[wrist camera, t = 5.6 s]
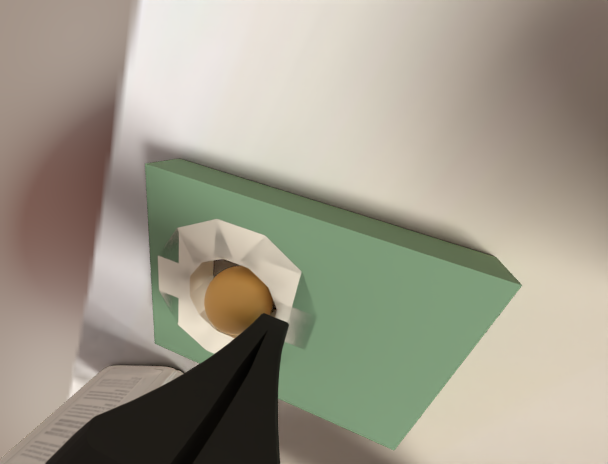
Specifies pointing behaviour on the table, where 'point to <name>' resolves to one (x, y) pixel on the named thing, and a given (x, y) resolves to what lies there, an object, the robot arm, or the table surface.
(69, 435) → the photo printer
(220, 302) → the ball
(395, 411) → the mat
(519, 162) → the table surface
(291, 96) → the table surface
